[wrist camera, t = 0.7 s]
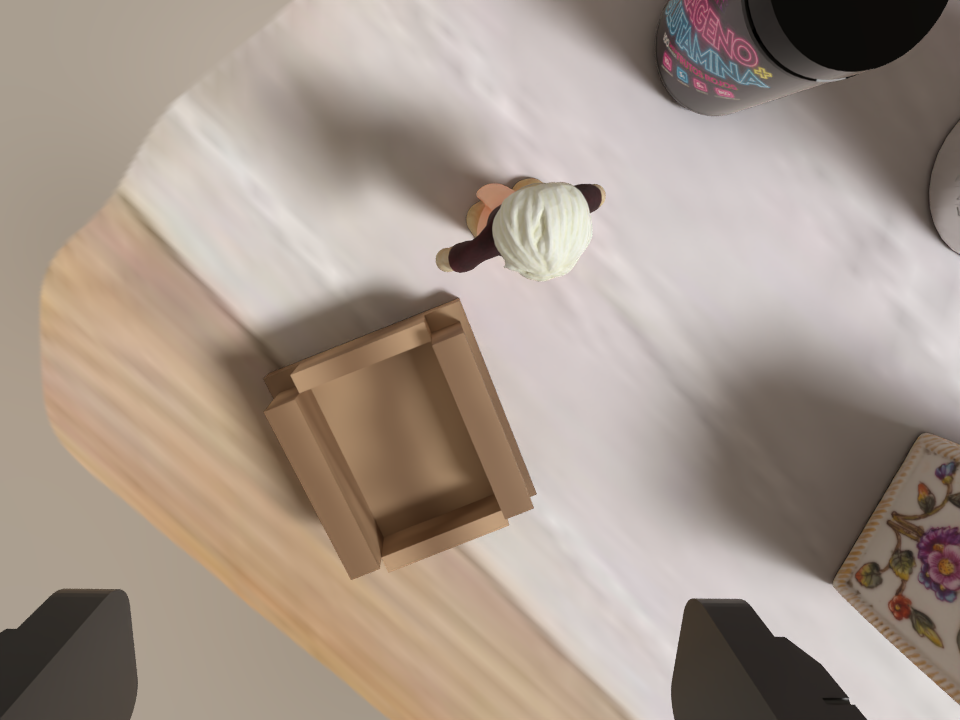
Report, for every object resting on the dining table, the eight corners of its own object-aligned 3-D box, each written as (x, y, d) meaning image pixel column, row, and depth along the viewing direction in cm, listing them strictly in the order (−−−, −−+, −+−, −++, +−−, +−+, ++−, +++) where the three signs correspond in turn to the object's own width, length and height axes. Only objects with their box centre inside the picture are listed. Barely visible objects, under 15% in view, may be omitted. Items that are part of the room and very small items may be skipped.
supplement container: (684, -55, 28) (830, -205, 18) (801, 6, 29) (1001, -102, 19) (626, 87, 29) (731, 22, 19) (740, 140, 30) (896, 105, 20)
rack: (459, 297, 31) (463, 310, 27) (533, 486, 34) (547, 521, 30) (268, 373, 31) (246, 396, 27) (360, 554, 34) (352, 598, 30)
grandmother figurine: (541, 143, 29) (623, 95, 17) (581, 208, 30) (684, 206, 18) (418, 232, 30) (412, 245, 18) (461, 292, 31) (483, 345, 19)
